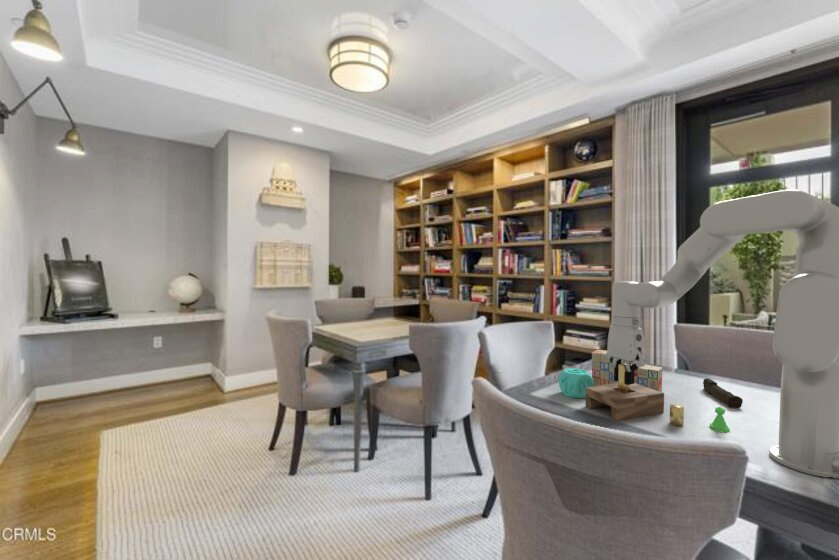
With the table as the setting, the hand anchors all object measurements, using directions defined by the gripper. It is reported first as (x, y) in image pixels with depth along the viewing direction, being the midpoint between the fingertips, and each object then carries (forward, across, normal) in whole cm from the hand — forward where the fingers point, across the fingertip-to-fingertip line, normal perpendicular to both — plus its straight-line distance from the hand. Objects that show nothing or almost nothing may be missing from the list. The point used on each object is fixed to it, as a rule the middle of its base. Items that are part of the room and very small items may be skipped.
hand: (623, 381), depth 117 cm
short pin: (+9, -13, -5) cm, 16 cm away
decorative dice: (+9, +16, +4) cm, 19 cm away
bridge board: (+9, 0, 0) cm, 9 cm away
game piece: (+9, -19, -13) cm, 25 cm away
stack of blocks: (+9, +15, -17) cm, 24 cm away
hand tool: (+9, -2, -38) cm, 39 cm away
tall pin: (+7, 0, 0) cm, 7 cm away
